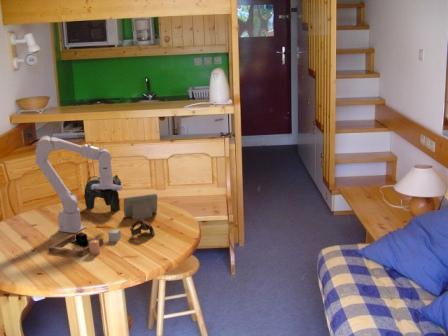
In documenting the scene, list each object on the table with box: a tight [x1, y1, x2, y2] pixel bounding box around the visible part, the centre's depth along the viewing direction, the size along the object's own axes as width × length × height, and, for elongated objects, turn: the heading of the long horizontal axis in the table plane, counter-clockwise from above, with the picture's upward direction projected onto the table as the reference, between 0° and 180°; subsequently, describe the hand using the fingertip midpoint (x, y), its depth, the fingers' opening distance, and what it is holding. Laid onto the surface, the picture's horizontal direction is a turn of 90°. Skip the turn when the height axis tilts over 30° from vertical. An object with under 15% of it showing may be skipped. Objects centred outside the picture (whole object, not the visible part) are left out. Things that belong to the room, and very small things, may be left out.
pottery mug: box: [129, 218, 156, 237], centre depth 242 cm, size 12×10×8 cm
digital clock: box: [123, 193, 158, 221], centre depth 265 cm, size 16×9×11 cm, turn 97°
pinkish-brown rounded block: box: [88, 239, 101, 256], centre depth 224 cm, size 4×4×5 cm
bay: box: [48, 233, 104, 258], centre depth 231 cm, size 16×15×2 cm
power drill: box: [83, 174, 122, 212], centre depth 275 cm, size 20×6×20 cm, turn 69°
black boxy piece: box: [69, 231, 89, 248], centre depth 235 cm, size 12×7×5 cm, turn 53°
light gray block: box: [107, 228, 122, 243], centre depth 238 cm, size 4×4×4 cm
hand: (108, 204), depth 253 cm, fingers closed
